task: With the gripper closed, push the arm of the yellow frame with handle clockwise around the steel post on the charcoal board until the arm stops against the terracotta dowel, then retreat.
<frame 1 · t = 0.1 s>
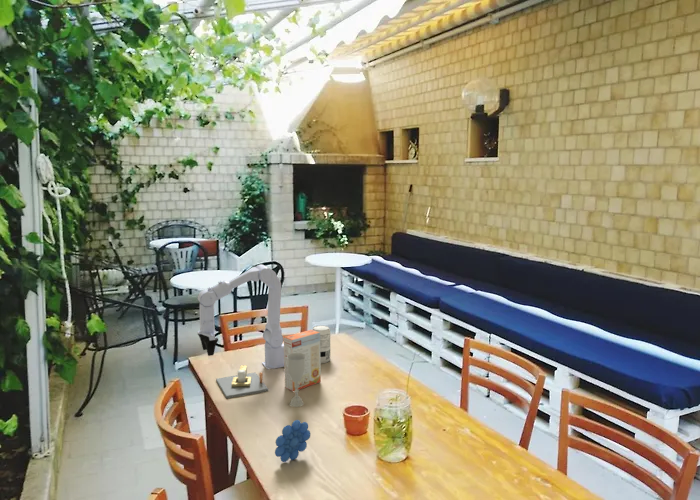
hand: (208, 352, 221), 10 cm above the table, fingers open, 7 cm apart
supplement can: (321, 360, 241), on the table
chalice: (296, 404, 198), on the table
cracker box: (302, 385, 214), on the table
grapes: (291, 458, 161), on the table
yellow frame with handle: (242, 375, 215), point 3 cm above the table, hinge at 0.0°
post board: (241, 385, 213), on the table
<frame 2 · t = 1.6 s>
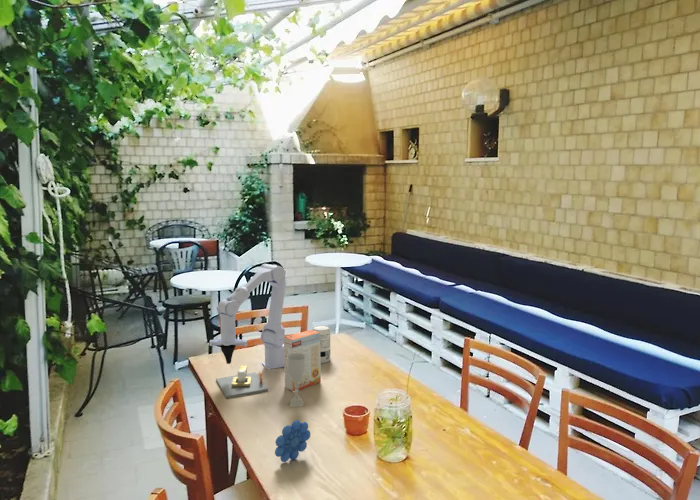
hand: (228, 362, 216), 8 cm above the table, fingers closed
nothing on the table moved.
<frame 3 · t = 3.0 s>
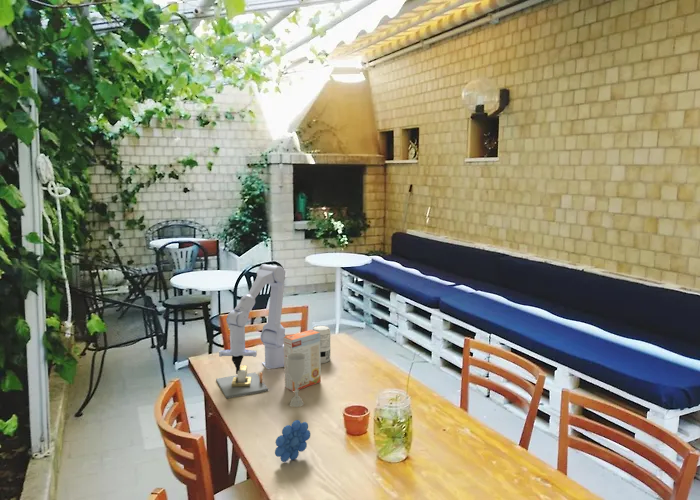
hand: (238, 373, 217), 3 cm above the table, fingers closed, pressing on yellow frame with handle
yellow frame with handle: (242, 375, 215), point 3 cm above the table, hinge at -0.5°, touching gripper
everything else where it was.
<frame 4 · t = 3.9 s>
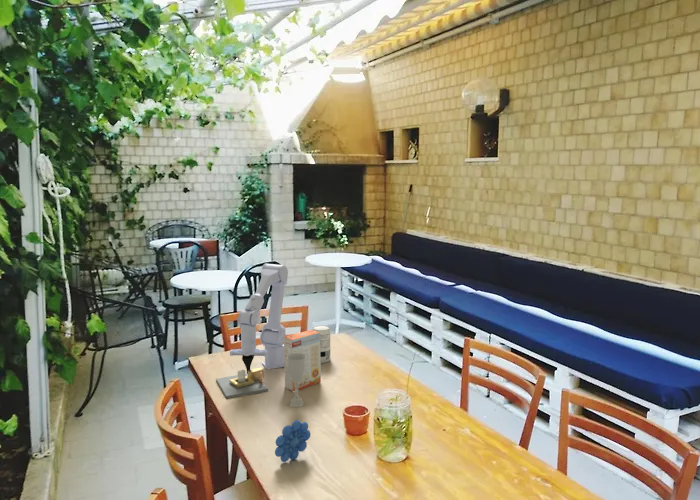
hand: (248, 372, 217), 3 cm above the table, fingers closed, pressing on yellow frame with handle
yellow frame with handle: (247, 376, 214), point 3 cm above the table, hinge at -54.3°, touching gripper
everything else where it was.
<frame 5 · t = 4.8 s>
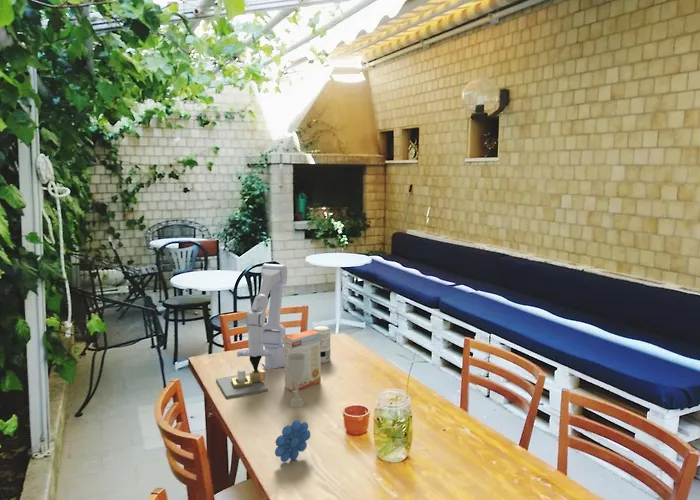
hand: (256, 373, 217), 3 cm above the table, fingers closed, pressing on yellow frame with handle
yellow frame with handle: (248, 377, 214), point 3 cm above the table, hinge at -73.8°, touching gripper, post board
everything else where it was.
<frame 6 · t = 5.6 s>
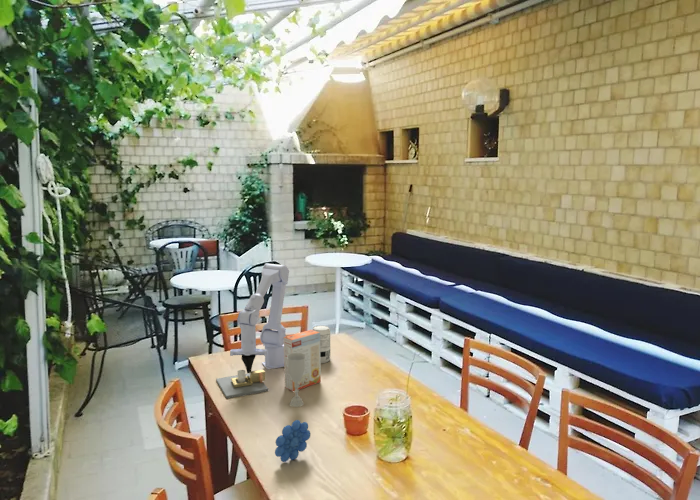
hand: (249, 372, 219), 3 cm above the table, fingers closed
yellow frame with handle: (248, 377, 214), point 3 cm above the table, hinge at -73.8°, touching post board
everything else where it was.
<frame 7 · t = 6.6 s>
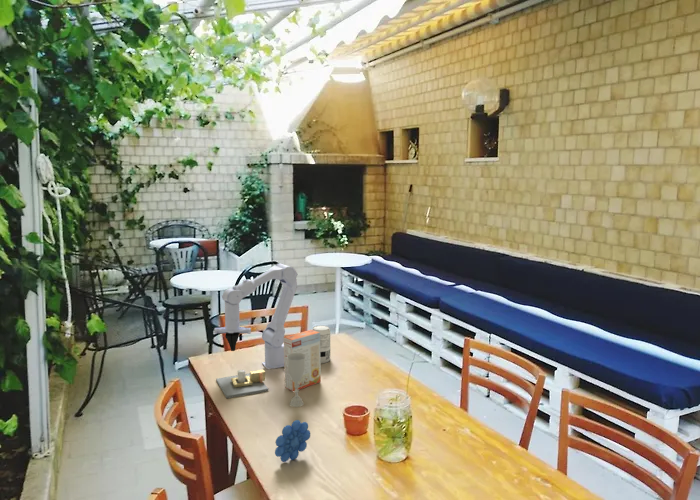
hand: (233, 350, 223), 10 cm above the table, fingers closed
nothing on the table moved.
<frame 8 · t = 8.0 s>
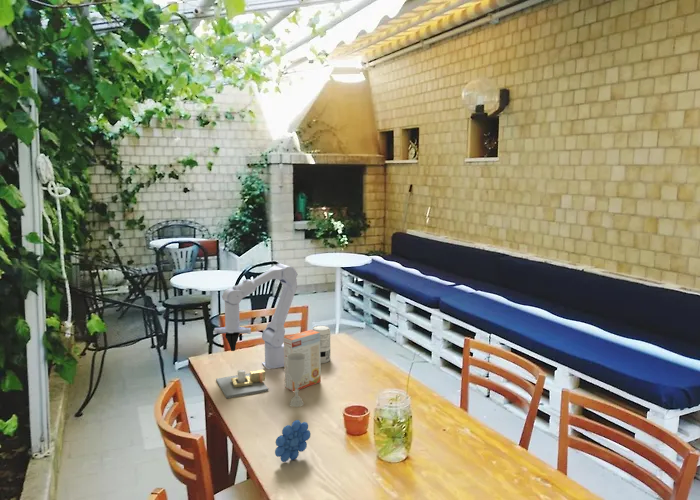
hand: (233, 350, 223), 10 cm above the table, fingers closed
nothing on the table moved.
at the end: yellow frame with handle at -74° (first picture: +0°) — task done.
